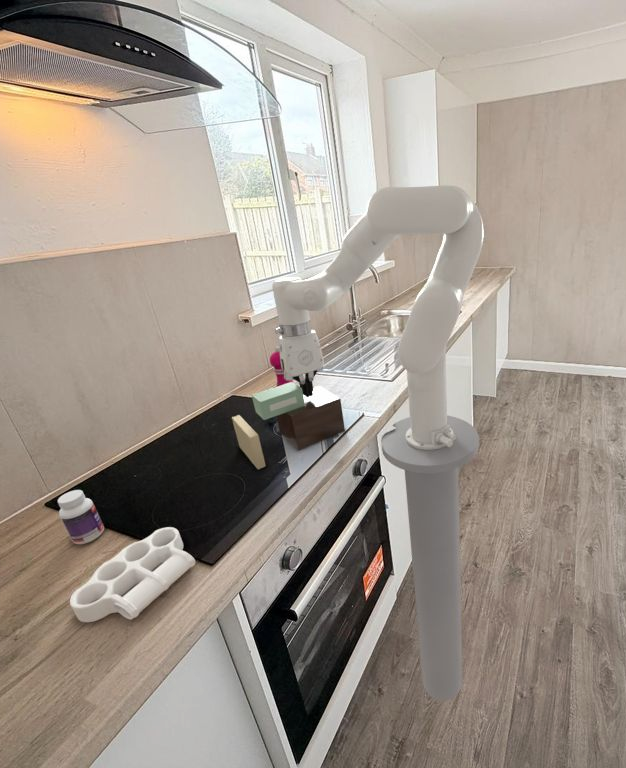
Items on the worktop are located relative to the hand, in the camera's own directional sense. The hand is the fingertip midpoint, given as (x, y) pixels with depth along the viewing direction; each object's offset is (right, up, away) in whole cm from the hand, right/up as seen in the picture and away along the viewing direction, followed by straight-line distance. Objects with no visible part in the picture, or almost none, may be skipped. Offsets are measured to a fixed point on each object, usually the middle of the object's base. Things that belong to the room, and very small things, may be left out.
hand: (307, 394), depth 110 cm
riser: (0, -10, +4) cm, 11 cm away
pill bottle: (-38, -28, -27) cm, 54 cm away
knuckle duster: (-20, -31, -39) cm, 54 cm away
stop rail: (-13, -16, -5) cm, 21 cm away
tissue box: (-6, -3, -4) cm, 8 cm away
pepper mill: (-10, -4, +20) cm, 23 cm away
